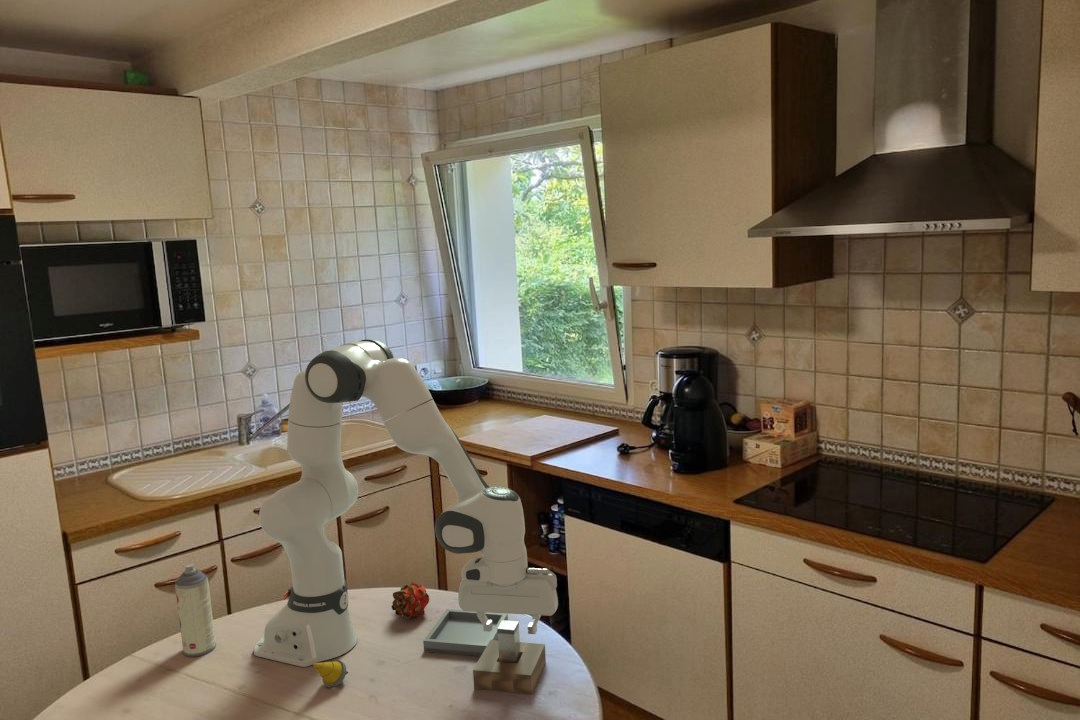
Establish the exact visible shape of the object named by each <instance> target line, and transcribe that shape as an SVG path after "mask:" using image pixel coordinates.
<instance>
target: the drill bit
mask: <svg viewBox="0 0 1080 720" xmlns="http://www.w3.org/2000/svg"><path fill="white" fill-rule="evenodd" d="M312 666H313V667H314V669H315V670H316V671H317V673H318V674H319V676H320V677H321V678H322V682H323V684H324V686H326V687H328V688H330V689H334V688H337V687H338V686H340V685H341V684H342V683H343V681H344V679H345V678H346V676H347V674H349V671H347V666H346V663H345V662H344V661H342V660H340V659H333V660H332V661H325V662H324V661H322V662H317V663H314V664H312Z"/></svg>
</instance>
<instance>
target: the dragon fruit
mask: <svg viewBox="0 0 1080 720" xmlns="http://www.w3.org/2000/svg"><path fill="white" fill-rule="evenodd" d="M392 597H393V601H392V605H391V610H392V611H395V612H394V614H395V615H396V616H401V617H402V616H403V618H405V619H406V620H412V619H413V618H414V616H417V617H420V616H424V615H425V608H426V607H427V606H428V605H429V603H430V595H429V594H428V592H427V590H426V587H425V586H424V585H423V584H422V583H420V584H419V583H417V582H416V581H415V582H414V581H412V582H410V584H409V585H408V584H405V585H403V586H402V587H400V590H399V591H395V592H393V593H392Z"/></svg>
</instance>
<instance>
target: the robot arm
mask: <svg viewBox="0 0 1080 720" xmlns="http://www.w3.org/2000/svg"><path fill="white" fill-rule="evenodd" d="M361 398H365V399H368V400H370V402H372V404H374V406H375V408H376V409H377V412H378V414H379V417H380V419H381V421H382V422H383V425H384V427H385V430H386V432H387V433H388V436H389V437H390V439H391V440H392V441H393V442H394V444H395V445H396V446H397V448H399V449H400V450H402V451H404V452H405V453H410V454H414V455H424V456H427V457H429V458H432V459H433V460H435V461H436V462H437V464H439V465H440V467H441V469H442V470H443V472H444V474H445V475H446V477H447V479H448V480H449V483H450V484H451V485H452V488H453V489H454V490H455V493H456V496H457V499H456V501H455V502H454V503H452V504H450V506H448V507H447V508H446V509H444V511H442V512H441V514H439V515H438V517H437V519H436V520H435V523H434V525H435V526H434V532H435V537H436V538H437V542H438V543H439V544H440V545H441V546H442V548H444V549H445V550H446V551H447V552H449V553H452V554H455V555H458V554H459V555H460V554H461V555H462V554H472V553H477V552H481V553H482V554H481V555H479V556H476V557H472V558H471V559H469V561H467V562H466V563H465V565H464V566H463V567H462V569H461V572H460V577H461V580H460V582H459V586H458V606H459V608H460V610H463V611H474V612H477V617H478V618H479V620H480V621H481V623H482V624H483V631H491V630H492V628H493V625H492V620H488V618H487V616H486V615H485V612H491V613H508V615H509V614H511V615H512V614H514V615H531V617H532V620H534V621H531V622H529V623H528V625H527V634H528V635H536V634H537V631H538V626H537V625H538V622H539V621H540V618H541V617H542V616H544V617H545V616H546V617H547V616H548V617H550V616H553V615H554V614H555V613H556V611H557V609H558V607H559V600H558V599H559V598H558V593H557V587H558V582H557V581H558V579H557V575H556V574H555V573H554V572H553V571H551V570H550V569H548V568H535V567H528V553H527V547H526V544H525V534H526V526H525V525H526V523H525V515H524V509H523V505H522V501H521V500H522V499H521V498H520V496H519V495H518V493H517V492H516V491H515V490H512V489H511V488H509V487H504V486H490V485H488V483H487V482H486V481H485V480H484V478H483V477H482V476H481V473H480V472H479V470H478V468H477V467H476V465H475V464H474V462H473V459H472V458H471V457H470V455H469V453H468V451H467V450H466V448H465V446H464V445H463V443H462V441H461V440H460V438H459V436H457V433H456V432H455V431H454V430H453V428H452V427H450V425H449V424H448V423H447V422H446V420H445V418H444V417H443V415H442V413H441V412H440V410H439V408H438V406H437V404H436V402H435V401H434V399H433V397H432V393H431V392H430V390H429V388H428V387H427V385H426V383H425V382H424V380H423V378H422V377H421V375H420V373H419V372H418V371H417V369H416V368H415V367H414V365H413V364H412V363H411V362H410V360H408V359H406V358H401V357H394V354H393V352H392V351H391V349H390V348H389V346H387V345H386V344H385V343H384V342H382V341H379V340H376V339H361V340H358V341H353V342H348V343H343V344H341V345H339V346H337V347H335V348H334V347H333V348H332V349H330V350H324V351H323V352H320V353H319V354H317V355H316V356H314V357H313V358H312V359H311V360H310V361H309V363H308V364H307V366H306V368H305V369H303V370H301V371H300V372H298V374H297V375H296V376H295V378H294V381H293V385H292V389H291V393H290V399H289V404H288V405H289V406H288V417H287V419H288V420H287V441H286V442H287V443H286V450H287V454H288V456H289V458H291V459H292V460H293V461H294V462H295V463H297V464H299V466H300V468H301V475H300V479H299V480H298V481H296V482H294V483H291V484H288V485H287V486H284V487H283V488H280V489H278V490H276V492H274V493H273V494H272V495H270V496H269V497H268V498H267V499H266V500H265V501H263V503H262V504H261V506H260V508H259V516H258V517H259V523H260V526H261V529H263V532H264V533H265V534H266V536H268V537H269V538H271V539H272V540H273V541H276V542H279V544H281V546H282V547H283V548H284V550H285V552H286V554H287V555H286V556H287V557H288V561H289V565H290V571H291V572H290V573H291V580H292V585H291V587H289V588H288V589H287V591H286V592H285V593H284V594H283V595H282V597H283V599H282V600H283V601H285V600H286V599H287V598H288V600H287V602H286V603H285V604H284V605H283V606H281V608H280V609H278V610H277V611H276V612H274V614H273V615H272V616H271V617H270V618H269V619H268V621H267V622H266V624H265V627H264V632H263V636H262V637H261V638H260V639H259V640H258V641H257V642H256V643H255V646H254V648H253V655H254V656H256V657H259V658H263V659H268V660H271V661H272V660H273V661H276V662H280V663H285V664H288V665H289V664H290V665H293V666H297V667H302V668H306V667H310V666H313V664H314V663H321V662H324V661H329V660H332V659H334V658H338V657H340V656H342V655H344V654H346V653H348V652H349V651H350V650H352V649H353V648H354V647H355V645H356V644H357V642H358V637H357V634H356V631H355V630H354V626H353V624H352V620H351V616H350V613H349V612H350V611H349V593H348V584H347V581H346V579H345V573H344V562H343V552H342V550H341V547H340V546H339V545H337V544H336V543H335V542H333V541H331V540H328V538H327V535H326V533H325V524H327V523H329V522H331V521H333V520H335V519H337V518H338V517H341V516H342V515H343V514H345V513H346V512H347V511H348V510H349V509H350V508H351V507H352V506H353V505H354V504H355V503H357V502H356V501H358V498H359V484H358V482H357V479H356V478H355V476H354V475H353V474H352V473H351V472H350V471H349V470H347V469H346V468H345V465H344V461H343V458H342V456H343V455H342V449H341V448H342V447H341V446H342V421H343V405H344V403H350V402H359V400H360V399H361Z"/></svg>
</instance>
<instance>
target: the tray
mask: <svg viewBox="0 0 1080 720" xmlns="http://www.w3.org/2000/svg"><path fill="white" fill-rule="evenodd" d="M485 615H486V616H487V618H488V620H492V625H493V628H492V630H491V631H483V624H482V623H481V621H480V620H479V618H478V617H477V612H474V611H463V610H462V609H455V608H454V609H453V608H452V609H451V608H446V609H445V611H444V613H443V614H442V615H441V616H440V617H439V619H438V620H437V622H436V623H435V624H434V626H433V627H432V628H431V630H430V631H429V632H428V633H427V635H426V636H425V638H424V639H423V641H422V643H423V652H427V653H438V654H439V653H441V654H451V655H462V656H473V657H474V656H475V657H481V655H482V654H483V652H484V650H485V648H486V647H487V645H488V643H489V642H490V640H498V630H497V629H498V627H499V625H500V623H501V622H502V620H504V621H509V616H508V615H509V613H491V612H485Z"/></svg>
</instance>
